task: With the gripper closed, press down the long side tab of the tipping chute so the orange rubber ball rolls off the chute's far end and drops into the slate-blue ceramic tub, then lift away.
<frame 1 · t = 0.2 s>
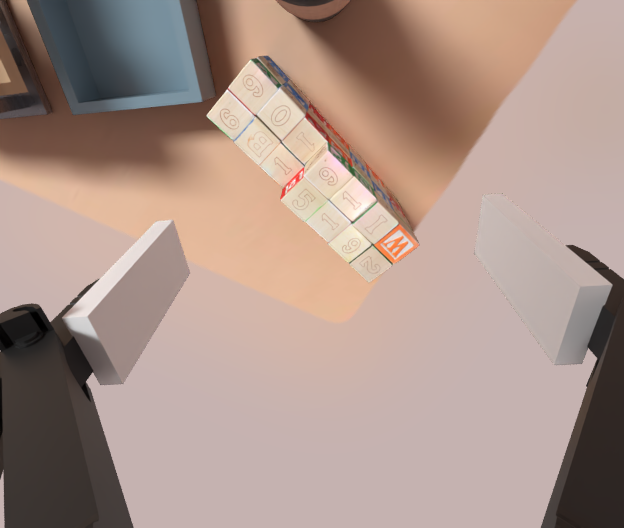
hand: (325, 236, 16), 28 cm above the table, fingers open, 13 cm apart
tub: (135, 24, 36), on the table
stack of blocks: (319, 152, 42), on the table
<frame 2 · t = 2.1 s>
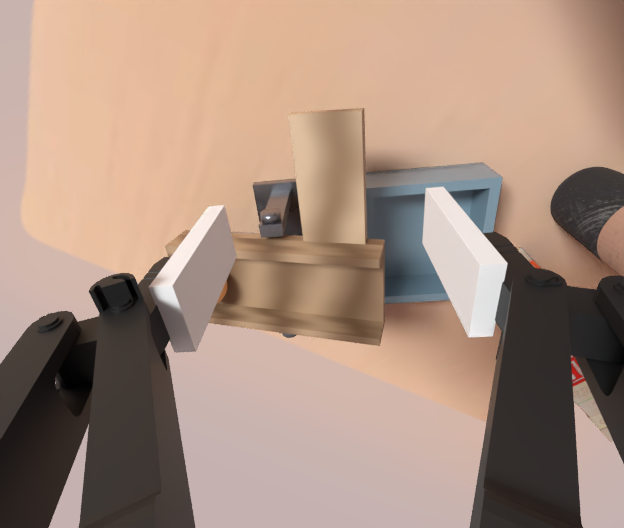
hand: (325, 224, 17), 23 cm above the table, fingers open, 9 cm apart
travel mug: (583, 197, 40), on the table
stand: (289, 236, 43), on the table
chute: (274, 228, 33), point 9 cm above the table, hinge at -15.0°, touching ball
tub: (416, 227, 42), on the table
stack of blocks: (538, 310, 48), on the table
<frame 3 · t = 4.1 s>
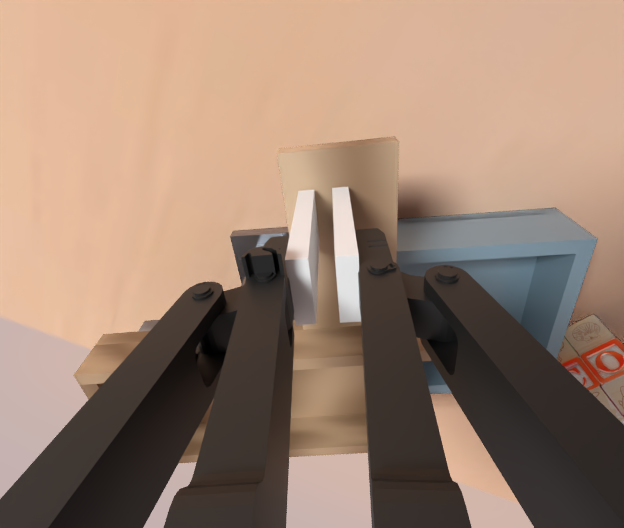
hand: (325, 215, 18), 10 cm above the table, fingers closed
stand: (282, 299, 32), on the table
chute: (253, 315, 22), point 9 cm above the table, hinge at 2.6°, touching ball, gripper
tub: (455, 289, 31), on the table
stack of blocks: (606, 387, 37), on the table
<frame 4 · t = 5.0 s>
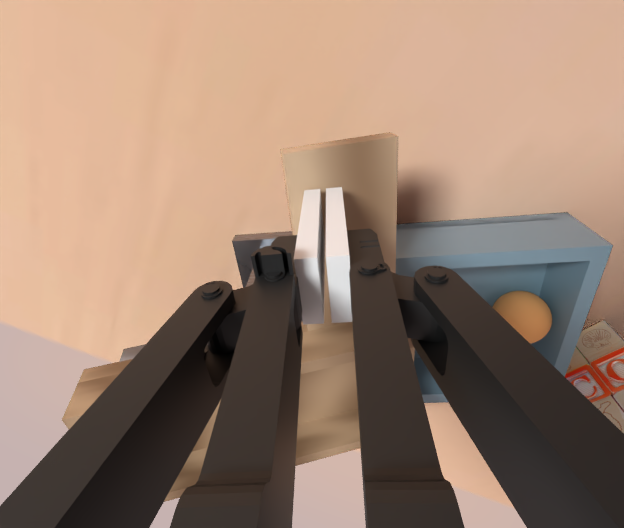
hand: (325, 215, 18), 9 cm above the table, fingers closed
ball: (520, 317, 27), point 3 cm above the table, tilted 72°, touching tub
stand: (285, 304, 32), on the table
chute: (254, 324, 22), point 9 cm above the table, hinge at 15.3°, touching gripper
tub: (462, 295, 30), on the table
stack of blocks: (615, 394, 36), on the table
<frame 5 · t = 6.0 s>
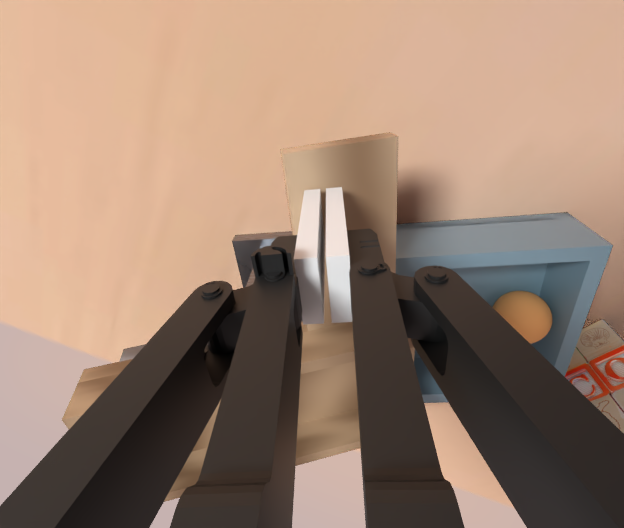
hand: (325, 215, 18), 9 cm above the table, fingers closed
ball: (520, 317, 27), point 3 cm above the table, tilted 73°, touching tub
stand: (285, 304, 32), on the table
chute: (254, 324, 22), point 9 cm above the table, hinge at 15.3°, touching gripper
tub: (462, 295, 30), on the table
stack of blocks: (614, 393, 36), on the table
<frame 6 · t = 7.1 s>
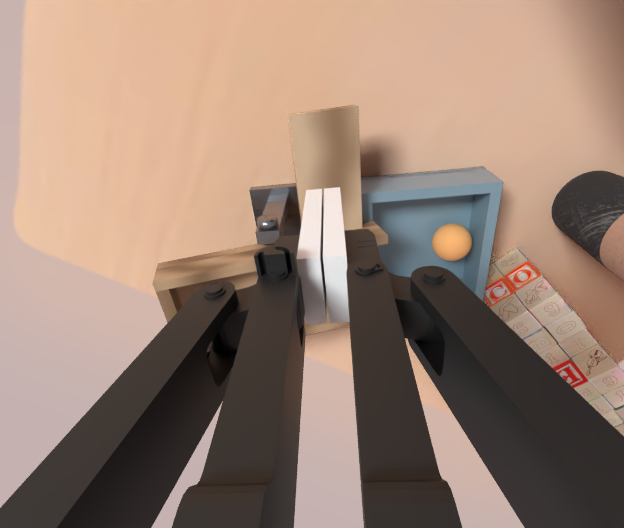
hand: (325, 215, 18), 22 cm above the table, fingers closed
ball: (451, 242, 39), point 3 cm above the table, tilted 65°, touching tub
travel mug: (584, 201, 39), on the table
stand: (287, 242, 43), on the table
chute: (269, 234, 33), point 9 cm above the table, hinge at 15.3°
tub: (416, 232, 42), on the table
stack of blocks: (534, 311, 47), on the table
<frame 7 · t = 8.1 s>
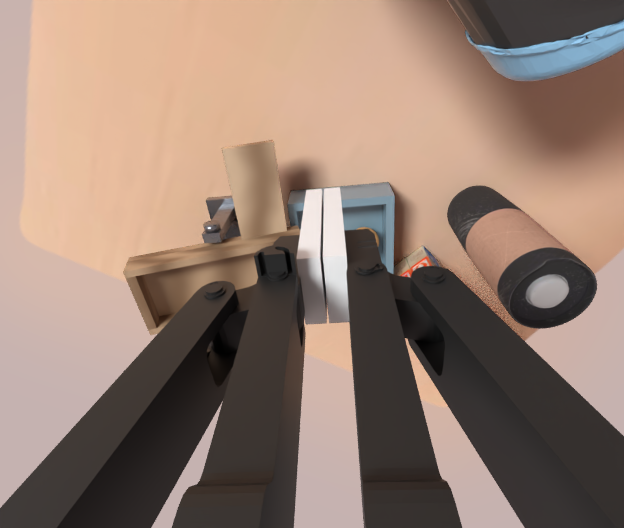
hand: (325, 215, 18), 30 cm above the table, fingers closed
ball: (364, 241, 49), point 3 cm above the table, tilted 59°, touching tub
travel mug: (473, 209, 50), on the table
stand: (239, 241, 53), on the table
chute: (214, 235, 43), point 9 cm above the table, hinge at 15.3°
tub: (342, 233, 52), on the table
stack of blocks: (446, 298, 57), on the table
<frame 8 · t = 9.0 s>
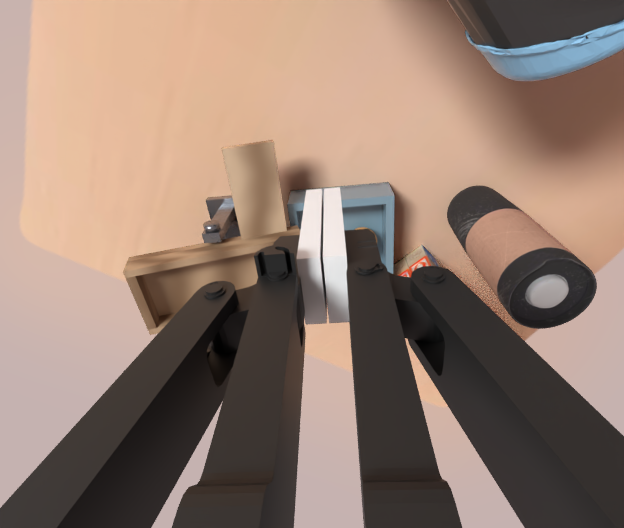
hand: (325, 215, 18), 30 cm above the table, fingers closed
travel mug: (473, 209, 50), on the table
stand: (239, 241, 53), on the table
chute: (214, 235, 43), point 9 cm above the table, hinge at 15.3°
tub: (342, 233, 52), on the table
stack of blocks: (445, 298, 57), on the table
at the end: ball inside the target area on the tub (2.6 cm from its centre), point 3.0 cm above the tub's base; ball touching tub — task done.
